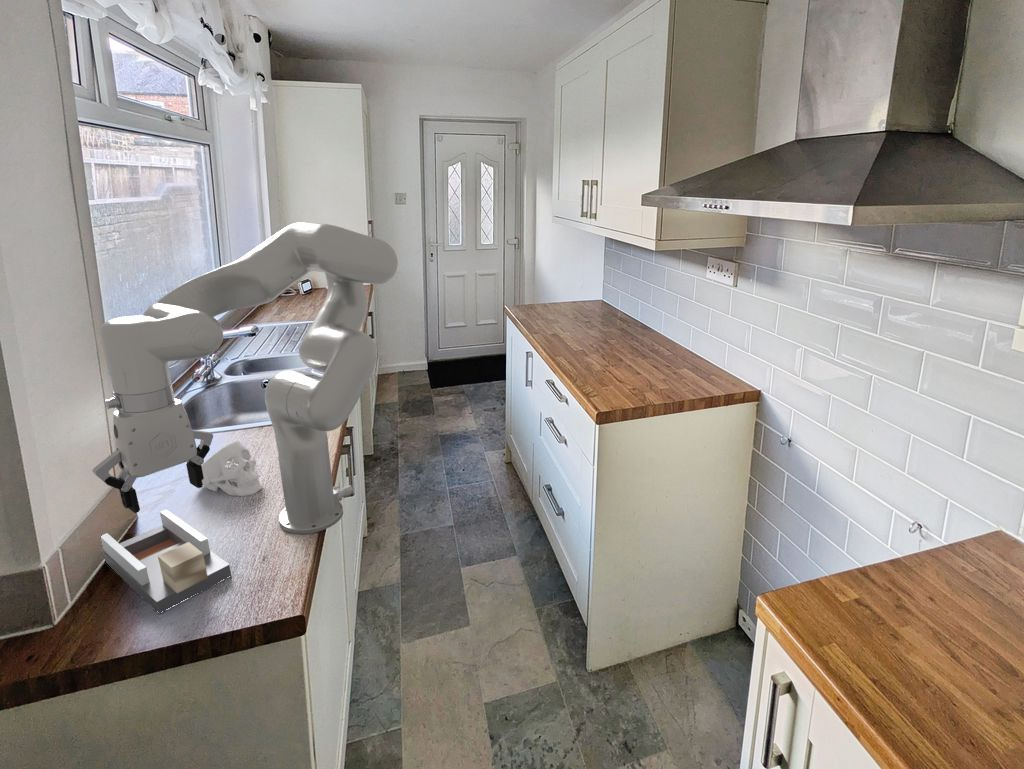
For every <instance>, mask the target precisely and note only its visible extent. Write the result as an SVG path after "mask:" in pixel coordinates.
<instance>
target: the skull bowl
mask: <svg viewBox="0 0 1024 769" xmlns="http://www.w3.org/2000/svg"><path fill="white" fill-rule="evenodd" d="M256 465H257V460H256V459H255V458H254V457H253V455H252V454H251V453H250V451H249V449H248V448H246V446H244V445H243V443H242V442H241V441H240V440H239V439H235V440H234V441H232V442H230V443H228V444H227V445H225V446H224V447H222V448H220V450H218V451H217V452H215V453H214V454H213V455H212V456H211V457H209V458H208V459H207V460H206V461H204V463H203V464H202V465H201V466H202V471H203V477H204V479H203V480H202V484H203V487H205V488H206V489H209V490H210V491H212V492H218V488H220V489H221V490H222V491H223V492H224V493H225V494H227V495H229V496H230V497H232V496H234V497H248V496H252V495H255V494H256V493H258V492H259V491H261V490H262V488H263V485H262V484H261V482H260V481H259V477H260V475H259V473H258V472H257V471H255V466H256ZM230 482H231V483H235V484H236V485H234V484H233V485H232V484H231V483H230Z"/></svg>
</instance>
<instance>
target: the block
mask: <svg viewBox="0 0 1024 769" xmlns="http://www.w3.org/2000/svg"><path fill="white" fill-rule="evenodd" d="M158 560H159V564H160V569H161V573H162V577H163V581H164V582H165V583H166V584H167V585H168V586H169V587H171V588H172V589H173V590H174V591H175V592H176V593H179V592H181V591H183V590H185V589H187V588H189V587H191V586H193V585H195V584H197V583H199V582H201V581H203V580H205V579H207V578H208V576H207V571H206V566H205V561H204V556H203V553H202V552H201V551H200V550H198V549H197V548H196V547H195V546H193V545H192V544H191V543H189V542H187V543H185V544H183V545H181V546H178V547H176V548H174V549H172V550H170V551H167V552H165V553H163V554H161V555H159V556H158Z"/></svg>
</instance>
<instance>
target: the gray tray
mask: <svg viewBox="0 0 1024 769" xmlns="http://www.w3.org/2000/svg"><path fill="white" fill-rule="evenodd" d="M159 514H160V515H159V516H160V519H161V524H162V525H160V526H158V527H155V528H152V529H151V530H150V529H149V530H148V531H145V532H143V533H141V534H138V535H136V536H134V537H132V538H128V539H126V540H124V541H121V542H120V543H119V542H118V541H117V540H116V539H115V538H113V537H112V536H111V535H110V534H109V533H107V532H106V533H104V534H102V536H101V535H100V536H101V540H100V542H101V541H102V543H101V546H102V545H103V547H102V551H103V549H104V551H103V555H104V558H103V560H104V559H105V561H106V563H107V564H108V565H109V566H110V567H111V568H112V569H113V570H114V571H115V572H116V573H117V574H118V575H120V576H121V577H122V578H123V579H124V580H125V581H126V582H127V583H128V584H129V585H130V586H131V587H132V588H133V589H134V590H135V591H136V592H137V593H138V594H139V595H140V596H139V597H141V596H142V597H143V598H144V599H145V600H144V599H143V598H142V597H141V598H142V599H143V600H144V602H146V601H147V602H148V603H149V604H150V605H151V606H152V607H153V608H154V609H155V610H156V611H158V612H159V613H161V612H162V611H165V610H166V609H168V608H170V607H172V606H173V605H176V604H178V603H180V602H181V601H183V600H185V599H187V598H190V597H191V596H193V595H195V594H197V593H199V594H201V593H202V592H201V591H203V590H205V589H207V588H209V587H211V586H213V585H214V586H216V585H218V584H219V583H218V582H220V581H221V580H223V579H226V578H227V577H229V576H231V577H232V572H231V568H230V567H231V566H230V564H229V563H228V562H226V561H225V560H224V559H222V557H219V555H217V554H216V553H214V551H211V549H210V545H209V544H210V543H209V539H208V537H206V536H204V535H203V534H202V533H201V532H200V531H197V529H196V528H193V527H192V526H191V525H189V524H188V523H187V522H185V521H183V519H181V518H180V517H178V516H177V515H175V514H174V513H172V512H171V511H169V510H168V509H166V508H165V509H162V510H161V511H159ZM187 542H189V543H191V544H192V545H193V546H195V547H196V548H197V549H198V550H200V551H201V552H202V553H203V556H204V561H205V566H206V571H207V576H208V578H207V579H205V580H203V581H201V582H199V583H197V584H195V585H193V586H191V587H189V588H187V589H185V590H183V591H181V592H179V593H176V592H175V591H174V590H173V589H172V588H171V587H169V586H168V585H167V584H166V583H165V582H164V581H163V577H162V573H161V569H160V564H159V560H158V556H159V555H161V554H163V553H165V552H167V551H170V550H172V549H174V548H176V547H178V546H181V545H183V544H185V543H187ZM103 555H102V556H103ZM106 563H105V564H106ZM107 564H106V565H107ZM108 565H107V566H108ZM109 566H108V567H109ZM110 567H109V568H110ZM111 568H110V569H111ZM112 569H111V570H112ZM113 570H112V571H113ZM114 571H113V572H114ZM115 572H114V573H115ZM116 573H115V574H116ZM117 574H116V575H117ZM118 575H117V576H118ZM229 578H230V577H229ZM123 579H122V580H123ZM124 580H123V581H124ZM226 580H227V579H226ZM125 581H124V582H125ZM126 582H125V583H126ZM127 583H126V584H127ZM217 583H218V584H217ZM220 583H221V582H220ZM128 584H127V585H128ZM215 584H216V585H215ZM129 585H128V586H129ZM130 586H129V587H130ZM214 586H213V587H214ZM131 587H130V588H131ZM132 588H131V589H132ZM211 588H212V587H211ZM133 589H132V590H133ZM209 589H210V588H209ZM134 590H133V591H134ZM207 590H208V589H207ZM135 591H134V592H135ZM205 591H206V590H205ZM136 592H135V593H136ZM200 592H201V593H200ZM203 592H204V591H203ZM137 593H136V594H137ZM138 594H137V595H138ZM197 595H198V594H197ZM190 599H191V598H190ZM147 602H146V603H147ZM148 603H147V604H148ZM149 604H148V605H149ZM150 605H149V606H150ZM151 606H150V607H151ZM152 607H151V608H152ZM153 608H152V609H153ZM154 609H153V610H154ZM155 610H154V611H155ZM159 613H158V614H159Z"/></svg>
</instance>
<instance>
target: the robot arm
mask: <svg viewBox="0 0 1024 769" xmlns="http://www.w3.org/2000/svg"><path fill="white" fill-rule="evenodd" d="M398 264H399V263H398V256H397V253H396V252H395V249H394V248H393V247H392V245H390V244H389V242H387V241H385V240H383V239H379V238H376V237H373V236H369V235H366V234H364V233H360V232H358V231H357V232H356V231H354V230H351V229H347V228H345V227H341V226H337V225H333V224H327V223H315V222H302V221H301V222H295V223H292V224H289V225H287V226H286V227H285V226H284V228H282V229H281V230H279V231H277V232H276V233H275V234H273V235H272V236H270V237H269V238H267V239H266V240H265V241H263V242H261V244H259V245H257V246H256V247H255V248H253V249H251V251H248V252H247V253H246V254H244V255H243V256H241V257H240V258H239V259H237V260H235V261H233V262H231V263H228V264H225V265H222V266H220V267H218V268H215V269H213V270H211V271H208V272H206V273H204V274H202V275H201V274H200V275H199V276H196V277H194V278H192V279H190V280H187V281H185V282H184V283H182V284H180V285H178V286H177V287H175V288H173V289H172V290H171V291H169V292H167V293H166V294H165V295H163V296H161V298H159V299H157V300H156V301H154V302H153V303H152V304H151V305H150V306H149V307H147V309H146V310H145V311H144V313H143V315H127V316H120V317H114V318H111V319H108V320H107V321H105V322H104V323H102V325H101V327H100V338H101V341H102V342H101V343H102V346H103V350H104V355H105V360H106V364H107V368H108V372H109V377H110V381H111V385H112V390H113V391H112V396H111V397H110V398H109V399H105V400H104V406H105V408H106V409H107V410H109V409H116V410H114V411H113V418H112V419H113V421H112V424H113V425H112V426H113V428H112V430H113V432H112V433H113V442H114V450H115V451H113V452H112V453H111V454H109V455H108V456H107V457H106V458H105V459H103V460H102V461H101V462H100V463H99V464H97V465H95V467H94V468H93V469H92V470H91V472H92V473H93V475H95V476H96V477H97V478H99V479H100V480H101V481H102V482H103V483H104V484H106V485H107V486H110V487H112V488H114V489H117V490H119V493H120V499H121V503H122V506H123V507H124V508H125V509H128V510H130V511H131V512H132V513H134V514H136V513H139V512H140V511H141V508H140V504H139V499H138V494H137V491H136V489H135V488H134V487H133V485H134V483H135V482H136V480H137V478H143V477H146V476H149V475H152V474H156V473H159V472H162V471H164V470H167V469H170V468H173V467H175V466H178V465H180V464H181V465H182V464H184V463H186V465H185V466H186V470H187V476H188V480H189V483H190V484H191V485H192V486H194V487H195V488H198V489H201V488H203V487H204V485H203V484H202V480H203V479H204V477H203V471H202V465H203V464H204V463H205V458H206V457H207V454H208V453H209V452H210V450H211V449H210V448H211V447H210V446H211V445H212V442H213V438H214V434H213V433H211V432H209V431H206V430H205V431H204V430H197V429H193V428H192V426H191V422H190V419H189V417H188V413H187V411H186V408H185V406H184V404H183V401H182V400H181V399H178V398H175V395H174V394H175V393H174V388H173V383H172V378H171V373H170V368H169V362H173V361H188V360H195V359H203V358H205V357H209V356H210V355H212V354H214V353H215V352H216V351H217V350H218V349H219V348H220V347H221V345H222V343H223V341H224V329H223V326H222V325H221V323H220V322H219V320H217V319H216V318H215V317H217V316H219V315H221V314H224V313H227V312H230V311H234V310H239V309H246V308H252V307H258V306H262V305H265V304H269V303H271V302H272V301H274V300H275V299H277V298H278V297H279V296H280V295H282V294H283V293H285V291H287V290H288V289H289V288H291V286H294V284H295V283H297V282H298V281H299V280H301V279H302V278H303V277H305V276H306V275H308V274H309V273H312V272H318V273H324V274H325V278H326V283H327V294H326V297H325V300H324V302H323V304H322V306H321V308H320V310H319V312H318V313H317V315H316V316H315V318H314V320H313V321H312V323H311V325H310V327H309V328H308V330H307V332H306V333H305V335H304V337H303V339H302V341H301V343H300V345H299V349H298V353H299V354H298V356H299V358H300V360H301V362H302V364H304V365H305V366H307V367H308V368H310V369H312V370H315V371H318V372H321V373H323V374H322V376H318V375H315V374H312V373H308V372H304V371H302V370H301V371H300V370H296V369H293V370H292V369H287V370H283V371H280V372H278V373H276V374H275V375H273V376H272V377H271V378H270V379H269V381H268V383H267V385H266V388H265V390H264V402H265V403H264V404H265V407H266V411H267V413H268V416H269V419H270V422H271V425H272V428H273V433H274V437H275V443H276V449H277V456H278V466H279V471H280V479H281V485H282V491H283V499H284V505H285V507H284V509H282V510H281V512H280V514H279V516H278V524H279V526H280V527H281V529H283V530H284V531H287V532H288V533H291V534H297V535H299V534H300V535H302V534H303V535H304V534H314V533H317V532H322V531H324V530H326V529H329V528H331V527H332V526H334V525H336V524H337V523H338V522H339V521H340V520H341V519H342V517H343V515H344V506H343V504H342V503H341V502H340V501H342V500H343V498H344V497H347V496H349V495H351V494H353V493H354V487H353V486H352V485H350V484H348V485H346V486H344V487H341V486H340V485H339V484H337V485H335V486H334V485H333V477H332V469H331V466H332V465H331V458H330V451H329V439H328V434H327V432H331V431H335V430H336V429H338V428H340V427H341V426H342V425H343V424H344V423H345V422H346V421H347V419H349V416H350V415H351V414H352V411H353V410H354V408H355V406H356V404H357V402H358V401H359V399H360V397H361V395H362V393H363V391H364V390H365V388H366V386H367V384H368V382H369V380H370V379H371V377H372V374H373V373H374V370H375V367H376V364H377V363H376V362H377V358H378V357H377V353H378V352H377V346H376V343H375V342H374V339H373V338H372V336H370V335H369V334H367V333H365V332H363V331H362V330H361V328H362V327H363V324H364V321H365V320H366V317H367V314H368V310H369V309H368V308H369V306H368V298H367V297H368V296H367V293H366V288H365V285H364V284H369V285H383V284H386V283H388V282H389V281H391V280H392V279H393V277H394V276H395V274H396V272H397V270H398V266H399V265H398ZM196 440H200V441H199V442H200V443H199V444H198V446H197V443H196ZM117 465H118V466H119V468H120V469H121V471H120V472H119V474H118V475H117V477H115V476H114V475H111V474H110V470H112V469H113V468H114V467H115V466H117Z"/></svg>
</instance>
